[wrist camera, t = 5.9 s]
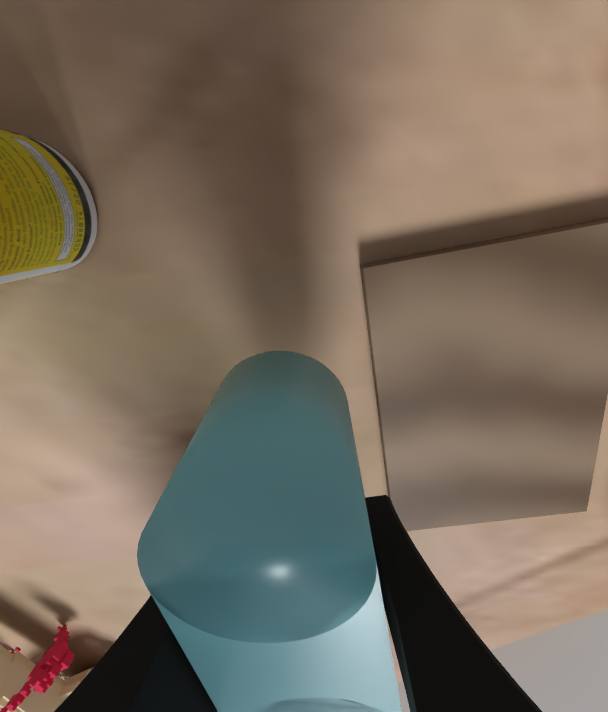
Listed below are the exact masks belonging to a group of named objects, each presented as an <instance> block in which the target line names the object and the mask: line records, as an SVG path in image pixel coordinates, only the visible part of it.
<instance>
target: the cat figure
mask: <svg viewBox="0 0 608 712" xmlns="http://www.w3.org/2000/svg"><path fill="white" fill-rule="evenodd" d="M66 629H67V628H66V627H65V626H63V627H62V628H61V627H59V628H58V629H57V630H58V631H59V632H58V634H57V635H56V636H55V638H54V639H53V640H54V641H55V643H54V644H53V646H52V647H50V648H49V649H48V651H47V652H46V654H45V655H44V656H43V658H42V659H41V661H40V662H38V663H37V664H36V665H35V664H34V663H32V662H31V661H30V660H29V659H27V658H26V657H25V656H24V655H22V654H21V653H20V652H19V651H20V650H21V649H20V648H16V649H15V651H17V652H15V653H14V652H13V651H12V652H9V651H8V650H7V649H5V648H4V647H3V646H2V645H0V712H54V711H55V710H56V709H57V708H58V707H59V706H60V705H61V704H62V702H63V701H64V700H65V699H66V698H67V697H68V696H69V695H70V694H71V693H72V692H73V691H74V689H75V688H76V687H77V686H78V685H79V684H80V683H81V681H82V680H83V679H84V678H85V677H86V676H87V675H88V673H89V672H90V671H91V670H92V669H93V668H94V667H93V668H90V669H88V670H86V671H83V672H81V673H79V674H76V675H74V676H72V677H69V678H67V679H65V680H63V679H62V678H60V677H59V676H58V673H59V672H60V671H62V670H64V669H67V668H69V666H70V665H71V663H72V661H73V660H74V657H73V656H74V655H75V654H74V653H72V652H71V651H70V650H69V649H68V647H69V646H68V643H69V642H67V639H68V638H69V636H68V634H69V632H68V631H66Z"/></svg>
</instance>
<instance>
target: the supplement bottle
mask: <svg viewBox="0 0 608 712" xmlns="http://www.w3.org/2000/svg"><path fill="white" fill-rule="evenodd" d="M96 234H97V213H96V208H95V204H94V201H93V197H92V195H91V193H90V190H89V188H88V186H87V184H86V183H85V181H84V180H83V178H82V177H81V175H80V174H79V173H78V171H77V170H76V169H75V168H74V166H73V165H72V164H71V163H70V162H69V161H68V160H67V159H66V158H65V157H64V156H62V155H61V154H60V153H59V152H57V151H56V150H54V149H53V148H51V147H50V146H48V145H46V144H45V143H43V142H40V141H38V140H35V139H33V138H30V137H27V136H24V135H21V134H17V133H13V132H10V131H6V130H3V129H0V285H2V284H6V283H10V282H15V281H19V280H24V279H28V278H33V277H37V276H42V275H47V274H51V273H55V272H59V271H62V270H66V269H69V268H71V267H73V266H75V265H77V264H78V263H80V262H81V261H82V260H83V259H84V258H85V257H86V256H87V255H88V253H89V252H90V250H91V248H92V246H93V244H94V241H95V238H96Z"/></svg>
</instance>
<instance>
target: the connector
mask: <svg viewBox="0 0 608 712" xmlns="http://www.w3.org/2000/svg"><path fill="white" fill-rule="evenodd" d="M137 558H138V566H139V570H140V573H141V576H142V578H143V580H144V583H145V585H146V587H147V588H148V590H149V592H150V594H151V595H152V597H153V599H154V601H155V602H156V604H157V606H158V608H159V609H160V611H161V613H162V615H163V616H164V618H165V620H166V621H167V623H168V625H169V627H170V628H171V630H172V632H173V634H174V635H175V637H176V639H177V641H178V642H179V644H180V646H181V648H182V649H183V651H184V653H185V655H186V656H187V658H188V660H189V662H190V663H191V665H192V667H193V669H194V670H195V672H196V674H197V676H198V677H199V679H200V681H201V683H202V684H203V686H204V688H205V690H206V691H207V693H208V695H209V697H210V698H211V700H212V702H213V704H214V705H215V707H216V709H217V711H218V712H402V711H401V705H400V699H399V693H398V687H397V681H396V675H395V669H394V663H393V657H392V652H391V646H390V640H389V634H388V628H387V622H386V616H385V610H384V604H383V598H382V593H381V587H380V581H379V575H378V569H377V563H376V557H375V552H374V546H373V541H372V535H371V529H370V524H369V518H368V513H367V507H366V501H365V496H364V490H363V485H362V479H361V473H360V468H359V462H358V457H357V451H356V446H355V440H354V434H353V429H352V423H351V418H350V412H349V406H348V401H347V397H346V393H345V391H344V389H343V386H342V385H341V383H340V381H339V380H338V379H337V377H336V376H335V375H334V374H333V373H332V372H331V371H330V370H329V369H328V368H327V367H326V366H324V365H323V364H322V363H320V362H318V361H317V360H315V359H313V358H311V357H308V356H306V355H303V354H299V353H295V352H289V351H270V352H264V353H260V354H257V355H254V356H251V357H249V358H247V359H245V360H243V361H242V362H240V363H239V364H238V365H236V366H235V367H234V368H233V369H232V370H231V371H230V372H229V373H228V374H227V376H226V377H225V378H224V380H223V382H222V384H221V385H220V387H219V389H218V391H217V393H216V395H215V397H214V399H213V400H212V402H211V404H210V406H209V408H208V410H207V412H206V414H205V415H204V417H203V419H202V421H201V423H200V425H199V427H198V429H197V430H196V432H195V434H194V436H193V438H192V440H191V442H190V443H189V445H188V447H187V449H186V451H185V453H184V455H183V457H182V458H181V460H180V462H179V464H178V466H177V468H176V470H175V472H174V473H173V475H172V477H171V479H170V481H169V483H168V485H167V487H166V488H165V490H164V492H163V494H162V496H161V498H160V500H159V502H158V503H157V505H156V507H155V509H154V511H153V513H152V515H151V516H150V518H149V520H148V522H147V524H146V526H145V528H144V530H143V531H142V533H141V537H140V540H139V543H138V551H137Z"/></svg>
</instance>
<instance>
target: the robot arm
mask: <svg viewBox="0 0 608 712" xmlns="http://www.w3.org/2000/svg"><path fill="white" fill-rule="evenodd" d="M365 501H366V507H367V513H368V518H369V524H370V529H371V535H372V541H373V546H374V552H375V557H376V563H377V569H378V575H379V581H380V587H381V593H382V598H383V604H384V608H385V612H386V616H387V620H388V624H389V628H390V631H391V635H392V639H393V643H394V647H395V651H396V655H397V659H398V663H399V666H400V670H401V674H402V678H403V682H404V686H405V689H406V694H407V698H408V703H409V707H410V712H542V711H541V710H540V709H539V708H538V706H537V705H536V704H535V703H534V702H533V701H532V700H531V699H530V698H529V696H528V695H527V694H526V693H525V692H524V691H523V690H522V688H521V687H520V686H519V685H518V684H517V683H516V681H515V680H514V679H513V678H512V677H511V675H510V674H509V673H508V672H507V671H506V669H505V668H504V667H503V666H502V665H501V663H500V662H499V661H498V660H497V659H496V657H495V656H494V655H493V654H492V653H491V651H490V650H489V649H488V647H487V646H486V645H485V644H484V642H483V641H482V640H481V639H480V637H479V636H478V635H477V634H476V632H475V631H474V630H473V628H472V627H471V626H470V625H469V623H468V622H467V621H466V619H465V618H464V617H463V615H462V614H461V613H460V611H459V610H458V609H457V607H456V606H455V604H454V603H453V602H452V600H451V599H450V598H449V596H448V595H447V593H446V592H445V591H444V589H443V588H442V586H441V585H440V583H439V582H438V581H437V579H436V578H435V576H434V575H433V573H432V572H431V570H430V569H429V567H428V566H427V564H426V562H425V561H424V559H423V558H422V556H421V555H420V553H419V552H418V550H417V548H416V547H415V545H414V543H413V542H412V540H411V538H410V537H409V535H408V533H407V531H406V530H405V528H404V526H403V524H402V522H401V521H400V519H399V517H398V515H397V513H396V511H395V508H394V506H393V504H392V501H391V499H390V497H388V496H386V495H382V496H375V497H367V498H365ZM54 712H217V709H216V707H215V705H214V704H213V702H212V700H211V698H210V697H209V695H208V693H207V691H206V690H205V688H204V686H203V684H202V683H201V681H200V679H199V677H198V676H197V674H196V672H195V670H194V669H193V667H192V665H191V663H190V662H189V660H188V658H187V656H186V655H185V653H184V651H183V649H182V648H181V646H180V644H179V642H178V641H177V639H176V637H175V635H174V634H173V632H172V630H171V628H170V627H169V625H168V623H167V621H166V620H165V618H164V616H163V615H162V613H161V611H160V609H159V608H158V606H157V604H156V602H155V601H154V599H153V597H152V595H151V596H150V598H149V599H148V600H147V602H146V603H145V604H144V605H143V607H142V608H141V609H140V611H139V612H138V613H137V614H136V616H135V617H134V618H133V620H132V621H131V622H130V624H129V625H128V626H127V627H126V629H125V630H124V631H123V633H122V634H121V635H120V636H119V638H118V639H117V640H116V641H115V643H114V644H113V645H112V646H111V647H110V649H109V650H108V651H107V652H106V653H105V655H104V656H103V657H102V658H101V659H100V661H99V662H98V663H97V664H96V665H95V666H94V668H93V669H92V670H91V671H90V672H89V673H88V675H87V676H86V677H85V678H84V679H83V680H82V681H81V683H80V684H79V685H78V686H77V687H76V688H75V689H74V691H73V692H72V693H71V694H70V695H69V696H68V697H67V698H66V699H65V700H64V701H63V702H62V704H61V705H60V706H59V707H58V708H57V709H56V710H55V711H54Z"/></svg>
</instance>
